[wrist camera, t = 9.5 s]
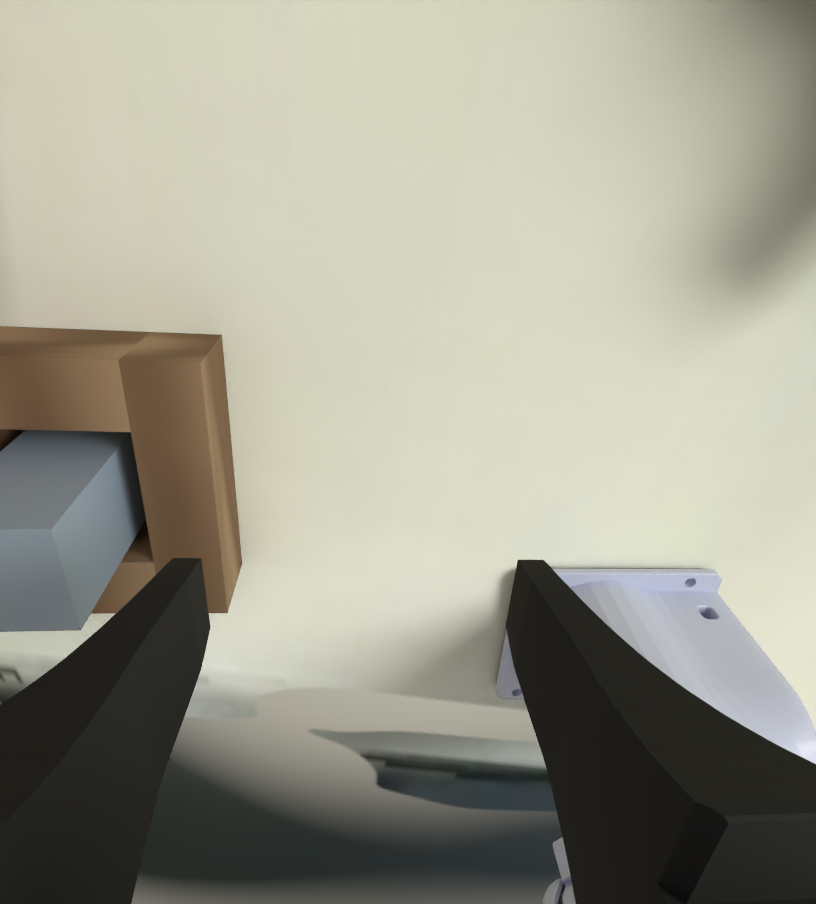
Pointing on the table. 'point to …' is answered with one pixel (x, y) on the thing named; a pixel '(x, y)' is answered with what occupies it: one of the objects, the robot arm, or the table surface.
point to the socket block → (140, 437)
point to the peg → (64, 524)
